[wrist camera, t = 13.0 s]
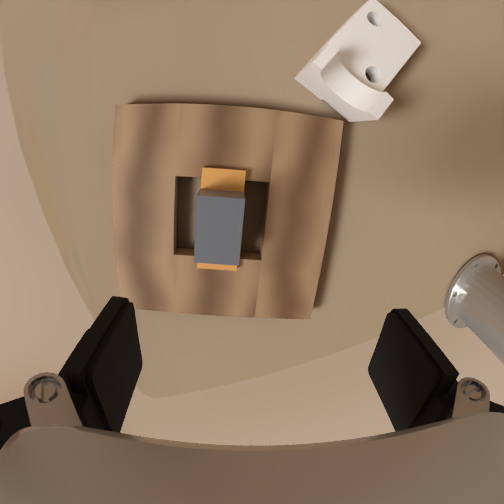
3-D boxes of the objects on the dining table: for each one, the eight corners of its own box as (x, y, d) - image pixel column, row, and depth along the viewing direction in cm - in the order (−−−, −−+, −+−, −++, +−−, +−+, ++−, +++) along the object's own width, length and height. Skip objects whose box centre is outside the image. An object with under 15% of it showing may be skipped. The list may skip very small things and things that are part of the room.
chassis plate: (336, 121, 28) (343, 120, 26) (306, 309, 36) (310, 318, 34) (123, 106, 26) (116, 105, 24) (125, 298, 34) (120, 307, 32)
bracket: (345, 122, 28) (377, 120, 21) (293, 78, 27) (312, 62, 19) (405, 48, 25) (442, 35, 18) (359, 7, 23) (389, -17, 16)
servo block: (244, 167, 30) (247, 175, 24) (236, 259, 33) (237, 285, 28) (204, 164, 29) (198, 171, 24) (199, 257, 33) (193, 282, 27)
